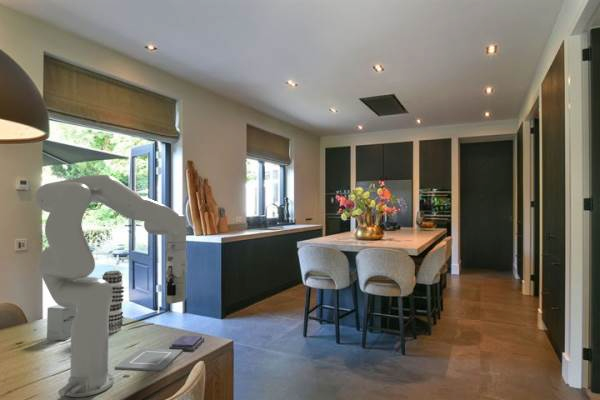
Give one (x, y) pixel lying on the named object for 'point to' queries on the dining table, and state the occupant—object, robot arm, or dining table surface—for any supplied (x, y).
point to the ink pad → (187, 343)
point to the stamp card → (149, 359)
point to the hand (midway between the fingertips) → (175, 292)
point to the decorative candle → (115, 300)
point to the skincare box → (177, 290)
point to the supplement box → (59, 322)
